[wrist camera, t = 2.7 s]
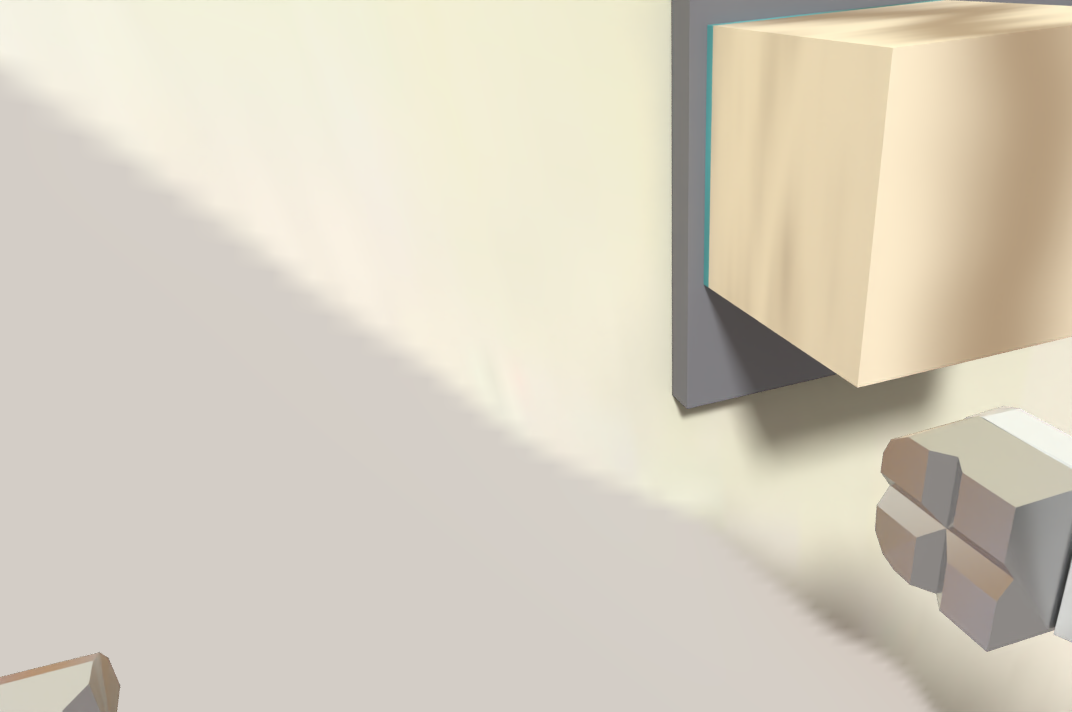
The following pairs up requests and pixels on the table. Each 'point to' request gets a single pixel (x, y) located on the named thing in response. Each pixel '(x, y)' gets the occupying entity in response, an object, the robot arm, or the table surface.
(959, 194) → the beech block
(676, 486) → the table surface
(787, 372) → the mat
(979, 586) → the robot arm
